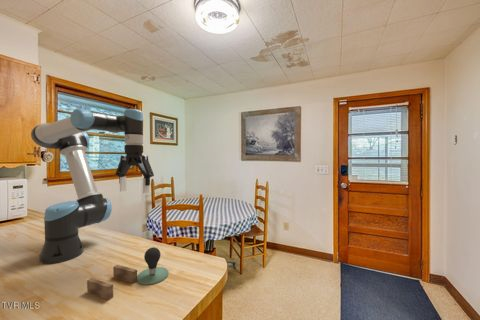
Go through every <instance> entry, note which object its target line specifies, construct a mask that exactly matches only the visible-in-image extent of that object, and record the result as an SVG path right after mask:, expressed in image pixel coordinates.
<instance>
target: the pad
mask: <svg viewBox="0 0 480 320" xmlns="http://www.w3.org/2000/svg"><path fill="white" fill-rule="evenodd" d="M168 277H169V270H168V269H167V268H166V267H163V266H157V267H156V273H155V274H154V275H151V274H149V268H146V269H144V270H142V271H141V272H139V273H137V281H136V282H137V283H138V284H140V285H143V286H150V285H155V284H158V283H161V282H163V281H164V280H166V279H167V278H168Z"/></svg>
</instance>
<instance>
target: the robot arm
mask: <svg viewBox="0 0 480 320" xmlns="http://www.w3.org/2000/svg"><path fill="white" fill-rule="evenodd" d="M92 130H93V131H94V130H95V131H101V132H103V131H104V132H108V133H113V134H119V133H124V144H125V145H124V153H125V154H123V155H122V154H121V155H120V158H119V159H120V160H119V163H118V165H117V168H116V172H115V176H117V177H118V179H119V181H118V183H119V192H127V176H126V174H127V173H128V171H129V170H130V168H131V167H132V166H134V167H137V168H138V170H139V171H140V173H141V175H142V176H143V178H142V194H148V193H149V194H150V185H151V178H152V177H154V176H155V173H154V171H153V169H152V167H151V164H150V161H149V156H148V155H147V154H146V155H145V154H144V155H143V153H144V145H143V144H144V113H143V111H142V110H140V109H135V108H126V109H125V110H124V111H123V115H115V114H110V113H109V114H108V113H105V112H99V111H94V110H90V109H85V108H83V109H82V108H75V109H73V111H72V112H71V114H70V116H69V117H66V118H62V119H59V120H57V121H56V120H55V121H54V122H51V123H47V122H45V123H41V124H37V125H36V126H34V127H33V128H32V130H31V132H30V138H31V139H32V141H33V143H35V144H36V145H38V146H39V147H42V148H45V149H50V150H51V149H52V150H59V153H60V155H62V156H64V157H65V160H66V163H67V167H68V169H69V173H70V176H71V177H70V178H71V180H72V183H73V186H74V189H75V192H76V193H75V194H76V196H77V199H76V200H69V201H62V202H58V203H55V204H52V205H49V206H48V207H46V209H45V210H44V215H43V216H44V217H43V220H44V243H43V246H42V249H41V250H40V251H41V252H40V253H39V262H40V263H42V264H47V265H48V264H57V263H62V262H66V261H69V260H72V259H75V258H77V257H79V256H80V255H82V254H83V253H84V245H83V243H82V241H81V239H80V235H79V229H82V228H84V227H88V226H91V225H94V224H95V225H96V224H99V223H101V222H104V221H107V220H108V219H109V218H110V216H111V214H112V209H113V207H112V202H111V201H110V199H109V198H105V197H104V195H103V193H102V192H101V193H100V192H98V191H99V190H98V189H97V186H96V182H95V179H94V176H93V173H92V171H91V167H90V165H89V160H88V158H87V155H86V152H87V150H88V148H89V145H90V137H89V135H88V133H87V132H88V131H92Z"/></svg>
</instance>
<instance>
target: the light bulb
mask: <svg viewBox="0 0 480 320" xmlns="http://www.w3.org/2000/svg"><path fill="white" fill-rule="evenodd" d="M161 255H162V254H161V251H160V249H159V248H158V247H153V246H152V247H150V248H148V249H147V250H146V251H145V253H144V256H143V258H144V261H145V263H146V265H147V269H149V274H151V275H154V274H155V273H156V267H158V263H159V261H160V259H161Z"/></svg>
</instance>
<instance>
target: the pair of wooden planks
mask: <svg viewBox="0 0 480 320" xmlns="http://www.w3.org/2000/svg"><path fill="white" fill-rule="evenodd" d="M112 271H113V278H115V279H118V280H120V281H121V280H122V281H126V282H128V283H132V284H135V283H136V282H137V276H138V269H136V268H131V267H128V266H124V265H119V264H115V265H114V266H113V270H112ZM86 292H87V294H91V295H93V296H96V297H99V298H102V299H104V300H105V299H106V300H108V301H109V300H111V299H112V298H114V284H113V283H109V282H105V281H103V280H100V279H96V278H93V277H91V278H88V279H87V280H86Z"/></svg>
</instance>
